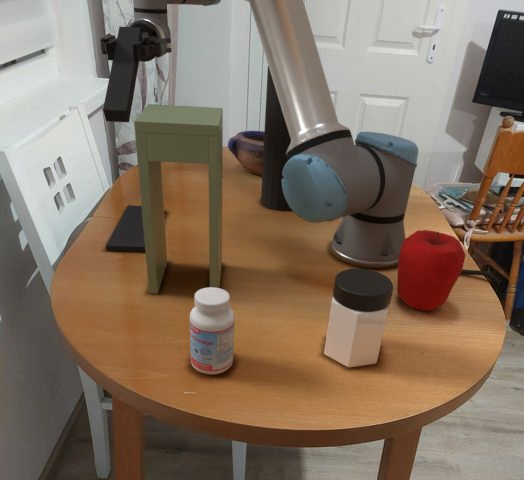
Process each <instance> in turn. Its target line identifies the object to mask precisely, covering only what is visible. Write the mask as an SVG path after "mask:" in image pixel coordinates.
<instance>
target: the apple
mask: <svg viewBox="0 0 524 480" xmlns="http://www.w3.org/2000/svg"><path fill="white" fill-rule="evenodd" d="M465 260H466V252H465V250H464V248H463V245H462V244H461V242H460V241H459V240H458V239H457V238H456V237H455V236H453V235H449V234H447V233H444V232H439V231H436V230H428V229H423V230H416V231H415V232H413V233H412V234H410V235H408V236H407V237H405V239H404V241H403V244H402V247H401V250H400V253H399V257H398V265H397V282H396V292H397V295H398V297H399V298H400V299H401V300H402V301H403V302H404V303H405V304H406V305H407V306H408V307H409V308H410V309H413V310H416V311H421V312H432V311H435V309H438V308H439V307H441V306H443V305H445V304H446V302H447V300H448V299H449V296H450V294H451V292H452V290H453V288H454V286H455V285H456V282H457V281H458V279H459V277H460V275H461V274H460V273H461V272H462V269H464V263H465Z"/></svg>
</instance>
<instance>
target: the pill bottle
mask: <svg viewBox="0 0 524 480" xmlns="http://www.w3.org/2000/svg"><path fill="white" fill-rule="evenodd" d="M230 297H231V295H230V293H229V292H228V291H227V290H225V289H223V288H220V287H219V288H215V287H210V286H209V287H203V288H200V289H198V290H197V291H196V292H194V302H193V304H194V307H193V308H192V309H191V311H190V313H189V344H190V345H189V350H190V363H191V366H192V367H193V369H195V370H196V371H197V372H199V373H201V374H205V375H219V374H223V373H224V372H226V371H227V370H229V369H230V368H231V367H232V365H233V363H234V347H235V346H234V343H235V313H234V310H233V309H232V308H231V306H230V305H231V301H230V300H231V298H230Z"/></svg>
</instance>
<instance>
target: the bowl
mask: <svg viewBox="0 0 524 480" xmlns="http://www.w3.org/2000/svg"><path fill="white" fill-rule="evenodd" d="M264 131H265V130H244V131H240V132H237V133H236V134H235V135H234V136H232V137H230V138H229V139H228V142H227V147H228V150H229V152H231V154H232V155H233V156H234V157H235V159H236V160H237V161H238V163H239V164H240V165H241V166H242V167H243V168H244V169H245V170H246V171H247V172H248V173H250V174H253V175H258V176H262V170H263V150H264Z"/></svg>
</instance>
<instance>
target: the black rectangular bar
mask: <svg viewBox="0 0 524 480" xmlns="http://www.w3.org/2000/svg"><path fill="white" fill-rule="evenodd" d="M116 38H117V41H116V47H115V52H114V57H113V60H112V63H111V67H110V72H109V77H108V82H107V88H106V93H105V97H104V98H105V99H104V101H103V102H104V103H103V108H102V111H103V115H104V118H105V121H106V122H113V123H130V120H131V119H130V118H131V113H132V107H133V102H134V94H135V90H136V89H135V88H136V83H137V77H138V71H139V66H140V61H139V62H134V53H133V44H134V43H136V42H138V41H143V39H142V33H141V28H140V27H128V26H119V27H118V32H117V37H116Z"/></svg>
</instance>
